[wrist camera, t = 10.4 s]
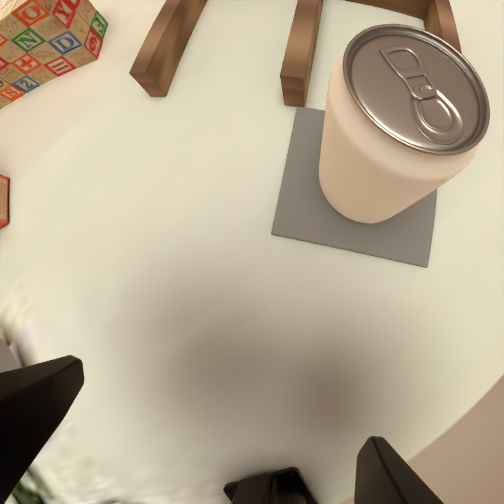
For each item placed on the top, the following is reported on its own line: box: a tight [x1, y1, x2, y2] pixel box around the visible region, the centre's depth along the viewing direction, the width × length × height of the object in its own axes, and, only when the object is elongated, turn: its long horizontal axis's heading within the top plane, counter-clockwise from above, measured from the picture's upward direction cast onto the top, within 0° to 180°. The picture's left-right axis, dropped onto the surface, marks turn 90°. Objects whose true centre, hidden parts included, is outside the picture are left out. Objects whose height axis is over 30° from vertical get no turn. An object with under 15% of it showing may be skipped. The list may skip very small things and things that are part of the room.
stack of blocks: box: [0, 0, 108, 108], centre depth 21 cm, size 21×6×12 cm, turn 93°
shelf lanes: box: [129, 0, 462, 107], centre depth 20 cm, size 16×24×4 cm, turn 78°
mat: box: [271, 106, 437, 267], centre depth 20 cm, size 10×11×1 cm
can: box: [319, 24, 490, 224], centre depth 14 cm, size 6×6×12 cm
